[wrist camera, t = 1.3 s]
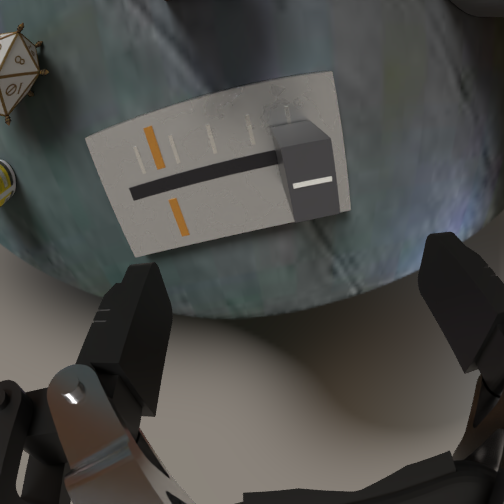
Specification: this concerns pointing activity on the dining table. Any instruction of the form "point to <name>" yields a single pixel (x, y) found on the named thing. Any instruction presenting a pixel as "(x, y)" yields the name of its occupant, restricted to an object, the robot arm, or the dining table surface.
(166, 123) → the console board
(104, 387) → the robot arm
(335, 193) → the fader knob
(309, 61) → the dining table surface
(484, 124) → the dining table surface
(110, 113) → the dining table surface
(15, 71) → the game die
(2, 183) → the supplement bottle
